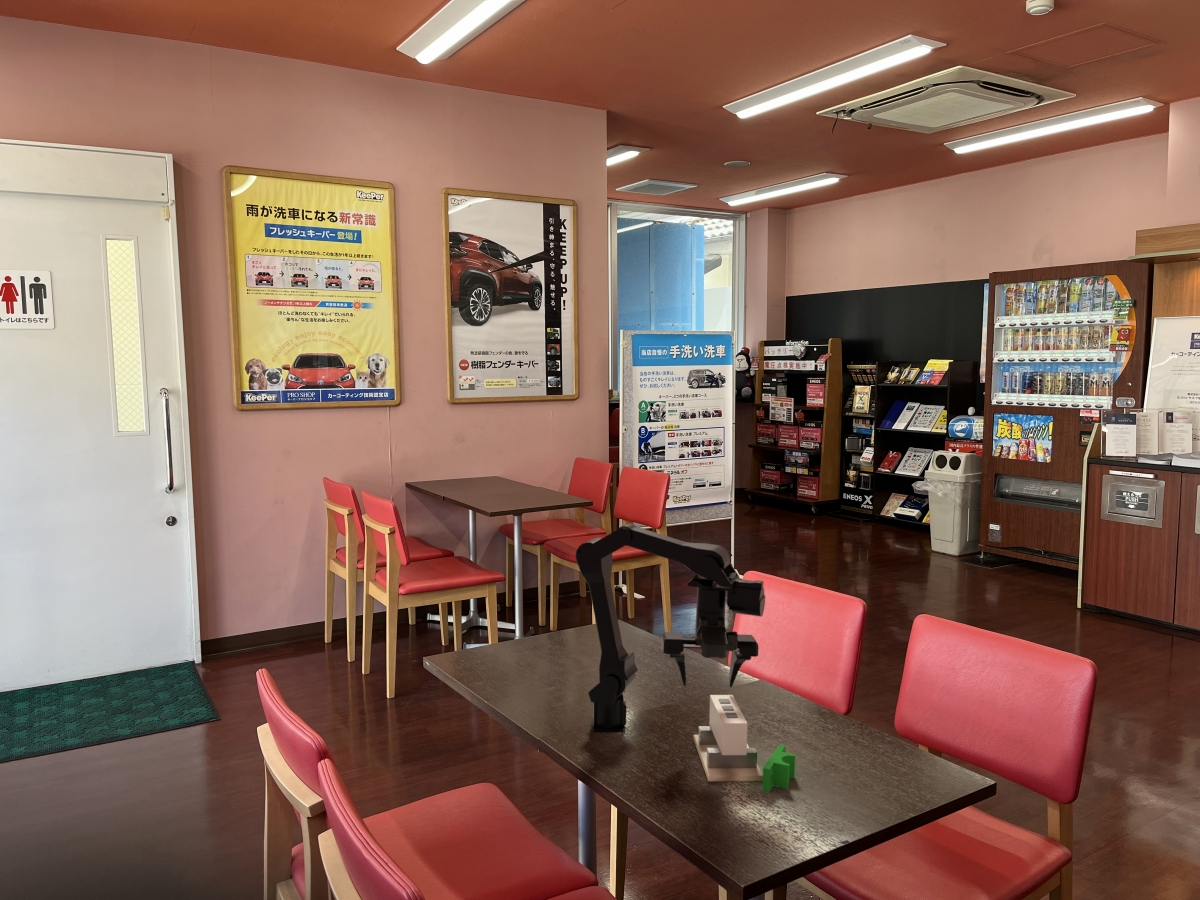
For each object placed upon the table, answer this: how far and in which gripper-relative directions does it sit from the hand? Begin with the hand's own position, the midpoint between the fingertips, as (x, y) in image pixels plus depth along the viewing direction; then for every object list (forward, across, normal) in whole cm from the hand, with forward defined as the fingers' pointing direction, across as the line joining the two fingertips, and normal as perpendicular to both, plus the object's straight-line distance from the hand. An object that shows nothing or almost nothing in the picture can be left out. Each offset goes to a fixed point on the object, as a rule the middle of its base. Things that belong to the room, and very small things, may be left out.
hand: (707, 686), depth 168 cm
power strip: (+7, +3, -8) cm, 11 cm away
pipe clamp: (+12, +12, -16) cm, 23 cm away
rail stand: (+11, +3, -8) cm, 14 cm away
